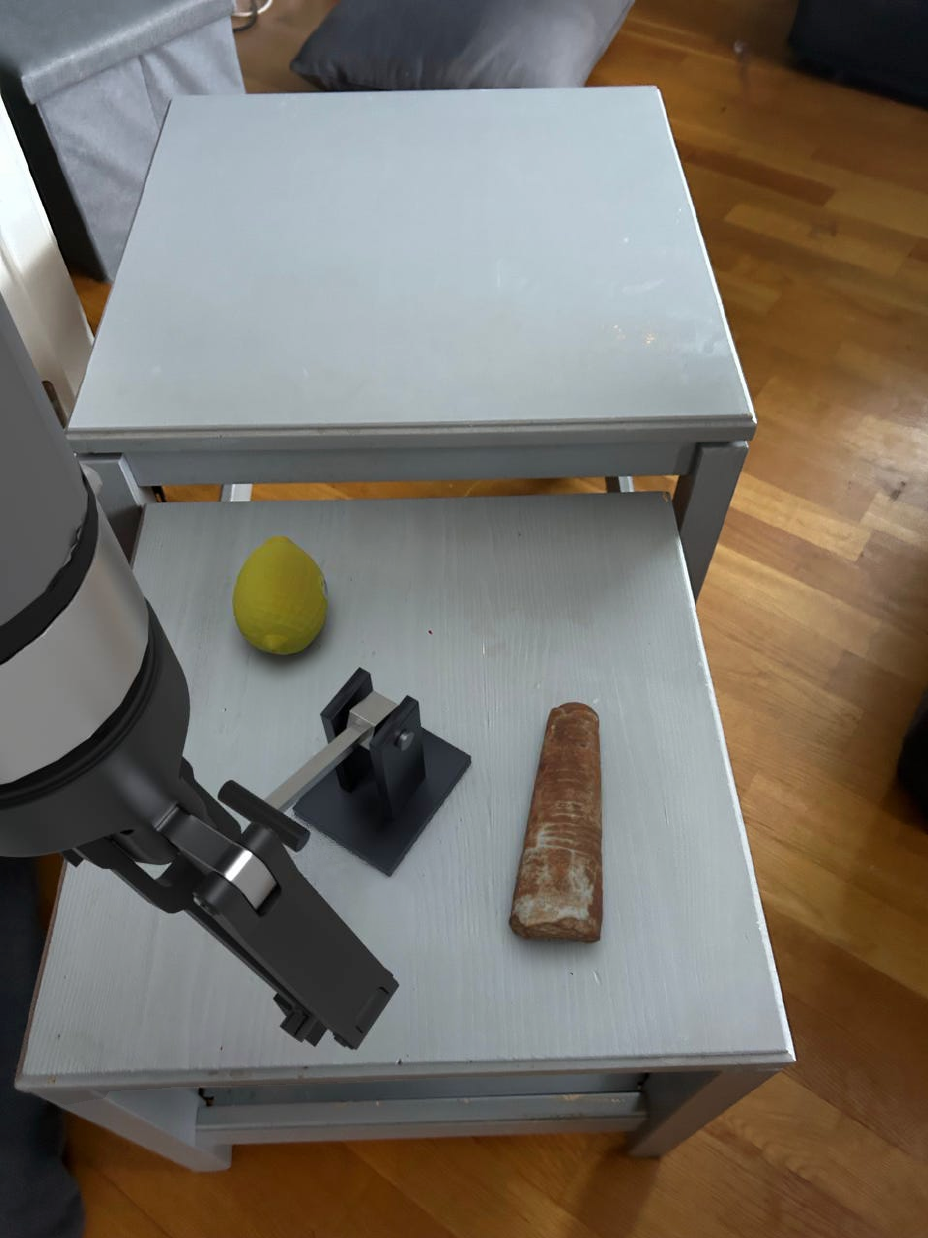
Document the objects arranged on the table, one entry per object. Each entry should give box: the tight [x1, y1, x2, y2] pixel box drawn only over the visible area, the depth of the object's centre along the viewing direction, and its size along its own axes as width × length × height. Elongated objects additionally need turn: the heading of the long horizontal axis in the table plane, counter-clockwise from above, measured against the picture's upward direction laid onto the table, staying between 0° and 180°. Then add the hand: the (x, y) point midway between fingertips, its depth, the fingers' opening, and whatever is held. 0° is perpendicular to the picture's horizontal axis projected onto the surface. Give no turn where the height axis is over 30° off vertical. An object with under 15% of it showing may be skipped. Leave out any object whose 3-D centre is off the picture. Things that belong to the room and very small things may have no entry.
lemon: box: [231, 535, 329, 656], centre depth 79 cm, size 11×8×8 cm
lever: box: [217, 690, 399, 853], centre depth 60 cm, size 13×6×2 cm, turn 147°
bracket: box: [291, 666, 472, 877], centre depth 68 cm, size 11×9×13 cm
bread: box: [508, 701, 604, 944], centre depth 69 cm, size 6×19×6 cm, turn 169°
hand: (204, 921), depth 41 cm, fingers open, 13 cm apart
